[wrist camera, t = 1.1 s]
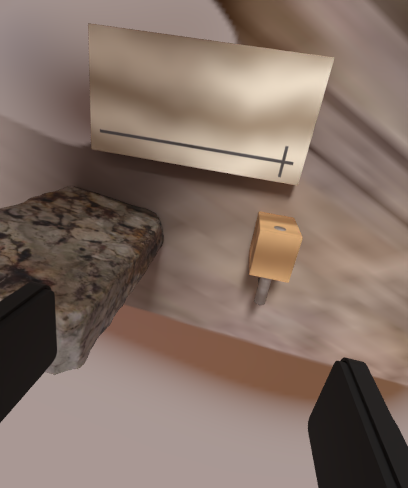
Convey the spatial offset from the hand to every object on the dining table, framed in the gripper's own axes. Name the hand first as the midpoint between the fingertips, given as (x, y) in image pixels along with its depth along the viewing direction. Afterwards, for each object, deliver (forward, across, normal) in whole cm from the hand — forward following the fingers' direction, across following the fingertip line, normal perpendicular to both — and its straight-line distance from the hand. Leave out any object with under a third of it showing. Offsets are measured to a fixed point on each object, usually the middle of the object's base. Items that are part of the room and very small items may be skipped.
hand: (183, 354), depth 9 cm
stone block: (+25, +14, +6) cm, 29 cm away
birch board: (+24, +5, -8) cm, 26 cm away
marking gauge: (+25, -5, +5) cm, 26 cm away
